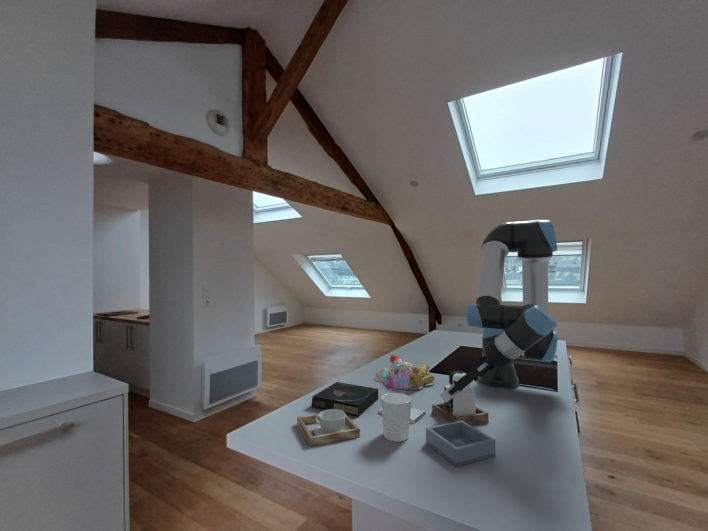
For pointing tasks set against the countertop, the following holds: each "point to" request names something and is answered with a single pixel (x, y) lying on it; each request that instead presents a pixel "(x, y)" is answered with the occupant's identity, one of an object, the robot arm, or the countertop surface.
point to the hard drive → (412, 414)
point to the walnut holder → (471, 419)
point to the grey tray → (460, 443)
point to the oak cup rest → (329, 437)
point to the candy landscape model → (405, 375)
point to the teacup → (330, 422)
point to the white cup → (396, 416)
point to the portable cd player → (345, 398)
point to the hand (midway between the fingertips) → (449, 393)
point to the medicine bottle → (460, 398)
